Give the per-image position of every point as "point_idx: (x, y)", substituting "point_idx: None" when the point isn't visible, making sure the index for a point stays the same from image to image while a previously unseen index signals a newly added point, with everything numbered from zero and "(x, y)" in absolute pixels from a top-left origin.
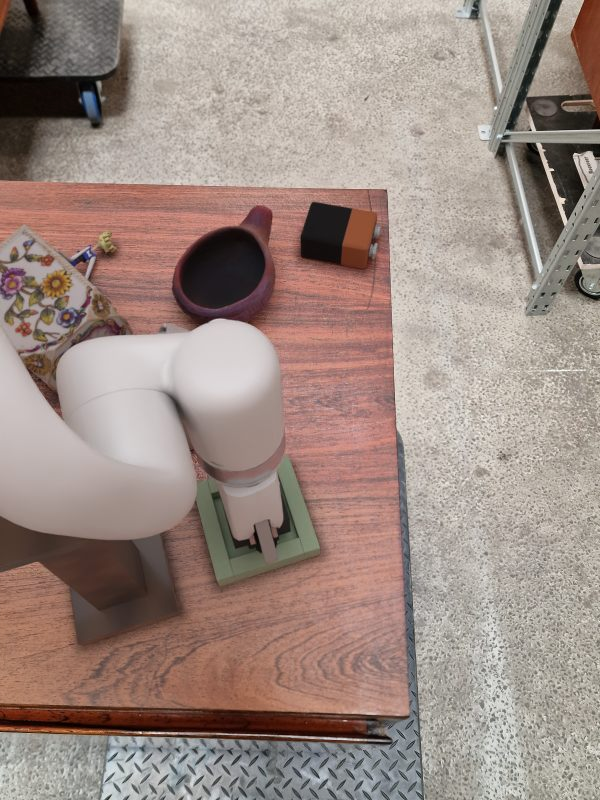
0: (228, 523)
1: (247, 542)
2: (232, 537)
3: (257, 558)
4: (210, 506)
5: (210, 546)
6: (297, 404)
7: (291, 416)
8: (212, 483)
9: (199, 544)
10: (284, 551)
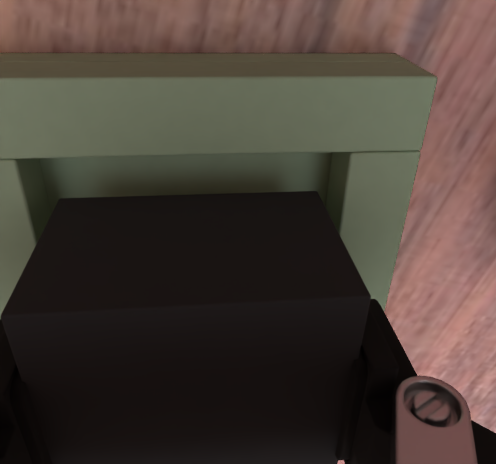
0: (95, 314)
1: (3, 331)
2: (5, 311)
3: (7, 266)
4: (293, 136)
5: (94, 90)
6: (491, 394)
7: (469, 378)
8: (391, 168)
9: (165, 12)
10: None
